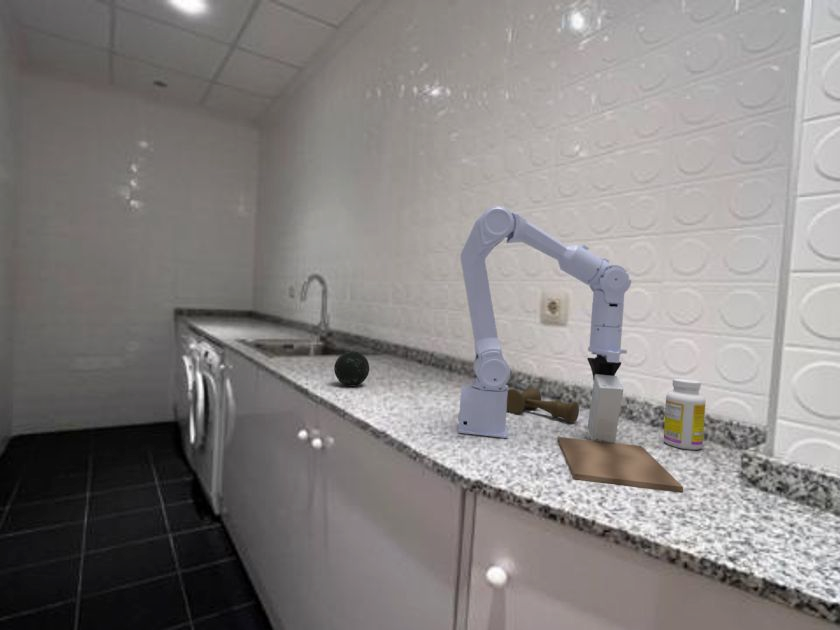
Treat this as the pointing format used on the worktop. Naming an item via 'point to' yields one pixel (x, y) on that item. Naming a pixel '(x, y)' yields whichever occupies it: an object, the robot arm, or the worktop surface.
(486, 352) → the robot arm
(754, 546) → the worktop surface
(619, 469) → the walnut board
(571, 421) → the kendama
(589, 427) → the skincare box
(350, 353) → the decorative stone
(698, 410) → the supplement bottle
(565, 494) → the worktop surface
